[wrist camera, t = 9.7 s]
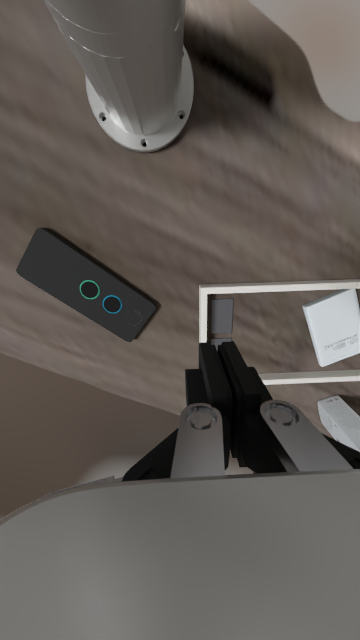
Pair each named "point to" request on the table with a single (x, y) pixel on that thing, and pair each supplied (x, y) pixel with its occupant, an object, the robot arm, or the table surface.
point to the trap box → (224, 307)
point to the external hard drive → (334, 326)
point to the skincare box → (340, 421)
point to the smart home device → (84, 285)
